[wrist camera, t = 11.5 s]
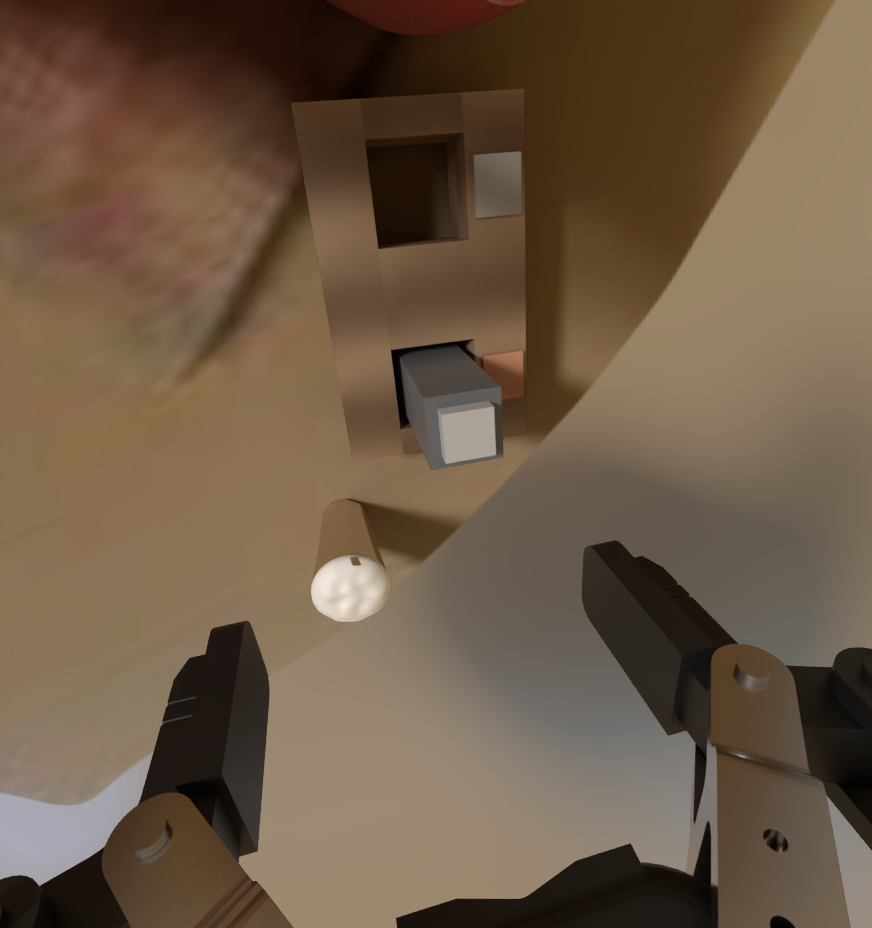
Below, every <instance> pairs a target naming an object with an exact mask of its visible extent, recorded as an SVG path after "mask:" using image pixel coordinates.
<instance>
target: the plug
mask: <svg viewBox="0 0 872 928" xmlns="http://www.w3.org/2000/svg"><path fill="white" fill-rule="evenodd" d="M393 356H394V364H395V371H396V379H397V387H398V395H399V399H400V402H401V404H402V406H403V408H404V411H405V413H406V415H407V417H408V420H409V422H410V424H411V426H412V429H413V431H414V433H415V435H416V438H417V440H418V442H419V444H420V447H421V449H422V451H423V453H424V456H425V458H426V460H427V462H428V465H429V467H430V469H431V470H435V469H440V468H446V467H452V466H458V465H463V464H469V463H475V462H480V461H486V460H492V459H498V458H503V430H502V402H501V386H500V385H499V384H498V383H497V382H496V381H495V380H494V379H492V378H491V377H490V376H489V375H488V374H487V373H486V372H485V371H484V370H483V369H482V368H481V367H480V366H479V365H477V364H476V363H475V362H474V361H473V360H472V359H471V358H470V357H469V356H468V355H467V354H466V353H465V352H464V351H463V350H461V349H460V348H459V347H458V346H457V345H456V344H455V343H454V342H446V343H439V344H431V345H424V346H416V347H409V348H401V349H394V350H393Z"/></svg>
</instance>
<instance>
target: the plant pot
mask: <svg viewBox="0 0 872 928" xmlns="http://www.w3.org/2000/svg"><path fill="white" fill-rule="evenodd" d="M324 1H326V2H328V3H330V4H332V5H333V6H335V7H337V8H339V9H341V10H343V11H344V12H346V13H348V14H350V15H352V16H354V17H355V18H357V19H359V20H361V21H363V22H365V23H367V24H368V25H370V26H373V27H376V28H378V29H381V30H384V31H388V32H392V33H396V34H401V35H410V36H429V35H440V34H445V33H450V32H455V31H458V30H461V29H464V28H468V27H471V26H474V25H477V24H480V23H483V22H486V21H489V20H491V19H493V18H495V17H497V16H499V15H502V14H504V13H506V12H508V11H510V10H512V9H514V8H515V7H517V6H518V5H520V4H522V3H523V2H525V1H526V0H324Z"/></svg>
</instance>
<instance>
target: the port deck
mask: <svg viewBox="0 0 872 928" xmlns="http://www.w3.org/2000/svg"><path fill="white" fill-rule="evenodd" d="M291 107H292V113H293V119H294V125H295V130H296V136H297V142H298V148H299V154H300V159H301V165H302V171H303V177H304V183H305V188H306V194H307V200H308V206H309V211H310V217H311V223H312V229H313V235H314V240H315V246H316V252H317V258H318V263H319V269H320V275H321V281H322V287H323V292H324V298H325V304H326V310H327V316H328V321H329V327H330V333H331V339H332V344H333V350H334V356H335V362H336V368H337V373H338V379H339V385H340V391H341V397H342V402H343V408H344V414H345V420H346V425H347V431H348V437H349V443H350V449H351V454H352V460H353V462H355V461H362V460H368V459H374V458H380V457H386V456H392V455H398V454H404V453H410V452H417V451H422V449H421V447H420V444H419V442H418V440H417V438H416V435H415V433H414V431H413V429H412V426H411V424H410V422H409V420H408V417H407V415H406V413H405V411H404V408H403V406H399V407H398V405H397V397H396V388H395V380H394V372H393V364H392V356H391V350H394V349H401V348H409V347H416V346H424V345H431V344H439V343H446V342H454V341H458V344H459V348H460V349H461V350H463V351H464V352H465V353H466V354H467V355H468V356H469V357H470V358H471V359H472V360H473V361H474V362H475V363H476V364H477V365H479V366H480V367H481V368H482V369H483V370H484V371H485V372H486V373H487V374H488V375H489V376H490V377H491V378H492V379H494V380H495V381H496V382H497V383H498V384H499V385H500V386H501V402H502V430H503V437H508V436H514V435H521V434H527V421H526V268H525V116H524V88H523V89H507V90H491V91H475V92H458V93H442V94H426V95H410V96H394V97H378V98H362V99H346V100H330V101H314V102H297V103H291ZM445 142H446V158H447V173H448V189H449V204H450V220H451V235H452V237H446V238H437V239H427V240H417V241H408V242H398V243H388V244H379V245H378V243H377V234H376V226H375V218H374V210H373V202H372V194H371V186H370V178H369V170H368V161H367V153H366V148H379V147H392V146H405V145H419V144H432V143H445Z"/></svg>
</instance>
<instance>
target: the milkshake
mask: <svg viewBox="0 0 872 928" xmlns="http://www.w3.org/2000/svg"><path fill="white" fill-rule="evenodd" d="M390 585H391V583H390V578H389V575H388V573H387V570H386V568H385V565H384V562H383V559H382V557H381V554H380V551H379V548H378V545H377V541H376V538H375V535H374V532H373V529H372V526H371V522H370V519H369V516H368V513H367V512H366V511H365V509H364V508H363V507H362V505H361V504H360V503H358V502H355V501H352V500H348V499H344V500H340V501H337V502H333V503H332V504H331V505H330V506H329V507H328V508H327V509H326V510H325V511H324V512H323V517H322V525H321V533H320V541H319V548H318V554H317V559H316V564H315V570H314V575H313V581H312V587H311V595H312V600H313V603H314V605H315V607H316V608H317V610H318V611H319V612H321V613H322V614H324V615H326V616H328V617H330V618H332V619H334V620H336V621H359V620H362V619H364V618H366V617H368V616H370V615H372V614H374V613H376V612H377V611H379V610H380V609H381V608H382V607H383V606H384V605H385V603H386V601H387V599H388V597H389V593H390Z"/></svg>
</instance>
